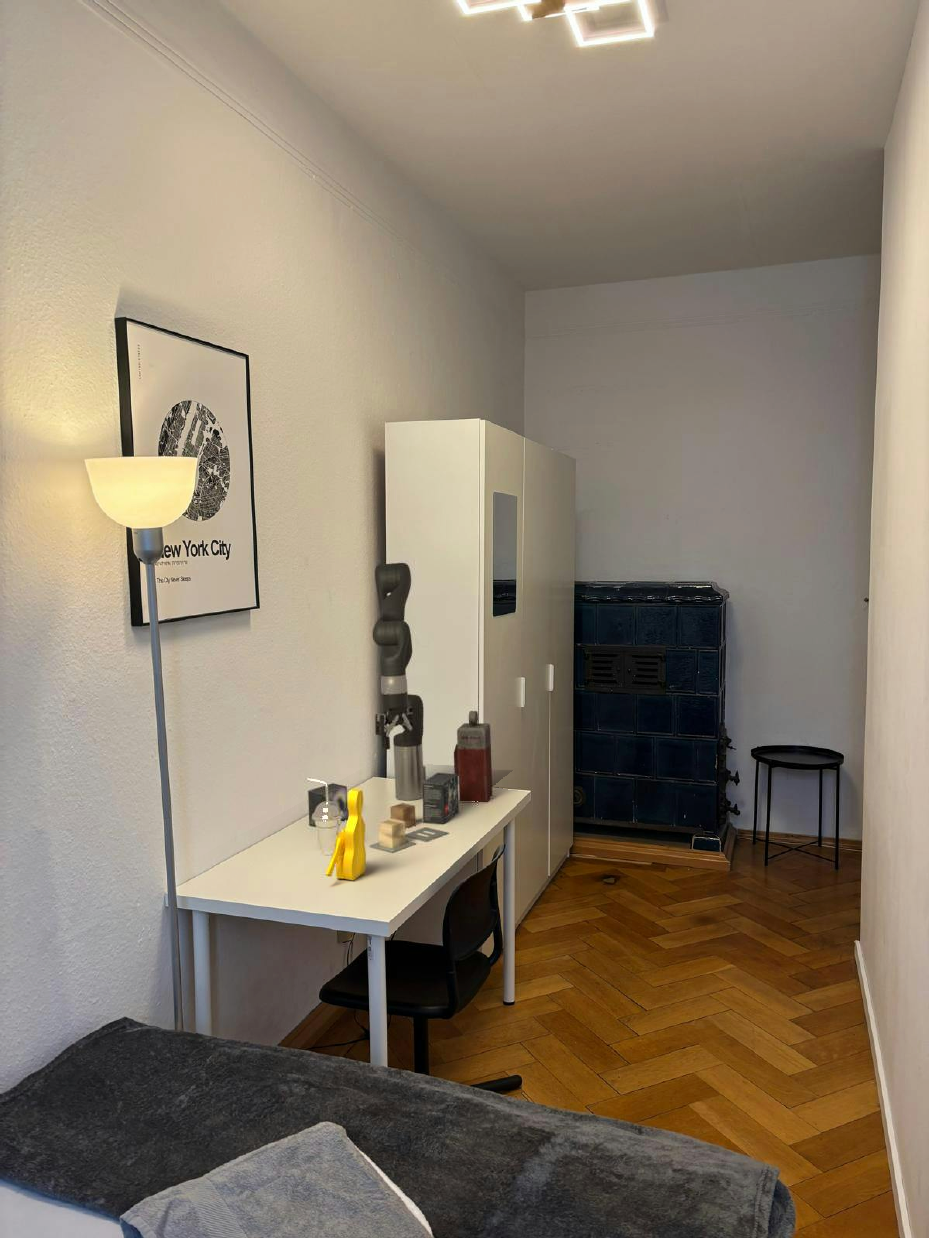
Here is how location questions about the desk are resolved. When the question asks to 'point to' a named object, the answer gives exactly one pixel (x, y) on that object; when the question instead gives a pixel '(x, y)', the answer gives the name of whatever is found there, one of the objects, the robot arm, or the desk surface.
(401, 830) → the maple block
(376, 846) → the code tile
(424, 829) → the code tile
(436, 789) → the small box
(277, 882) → the desk surface
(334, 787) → the small box
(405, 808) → the walnut block
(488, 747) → the red grey bottle
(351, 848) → the figure statuette
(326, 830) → the cup with straw
